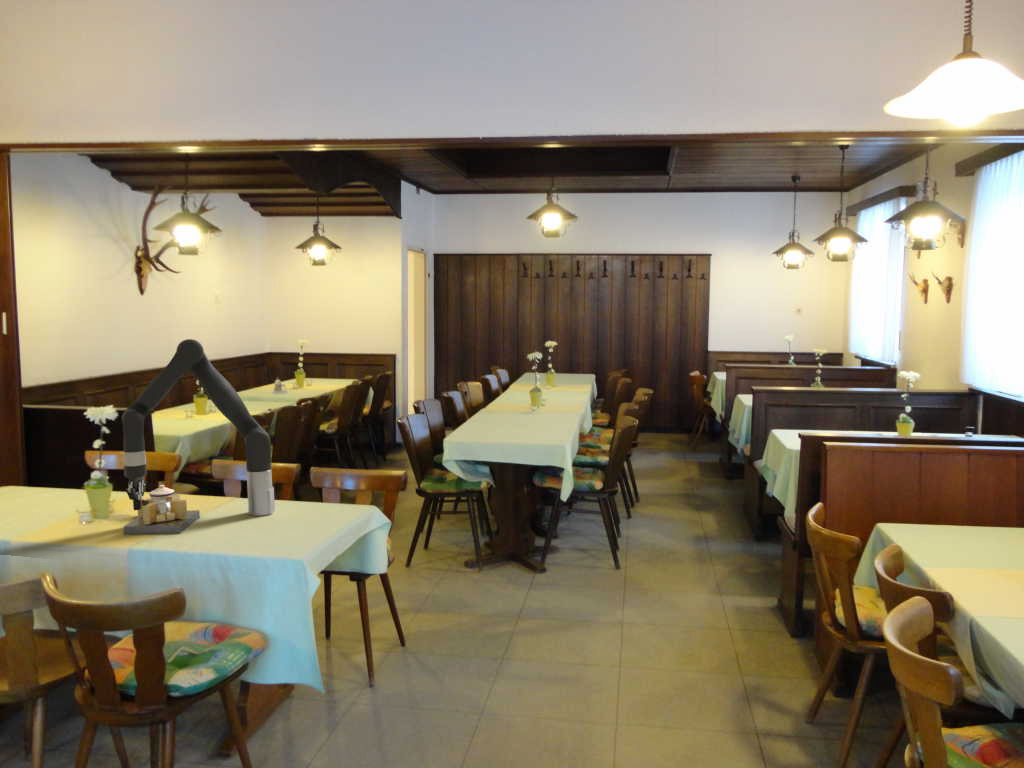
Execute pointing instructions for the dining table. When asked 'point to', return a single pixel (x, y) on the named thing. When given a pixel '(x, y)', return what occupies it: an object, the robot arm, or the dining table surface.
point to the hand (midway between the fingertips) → (137, 509)
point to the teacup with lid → (161, 493)
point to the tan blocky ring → (151, 513)
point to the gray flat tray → (165, 526)
